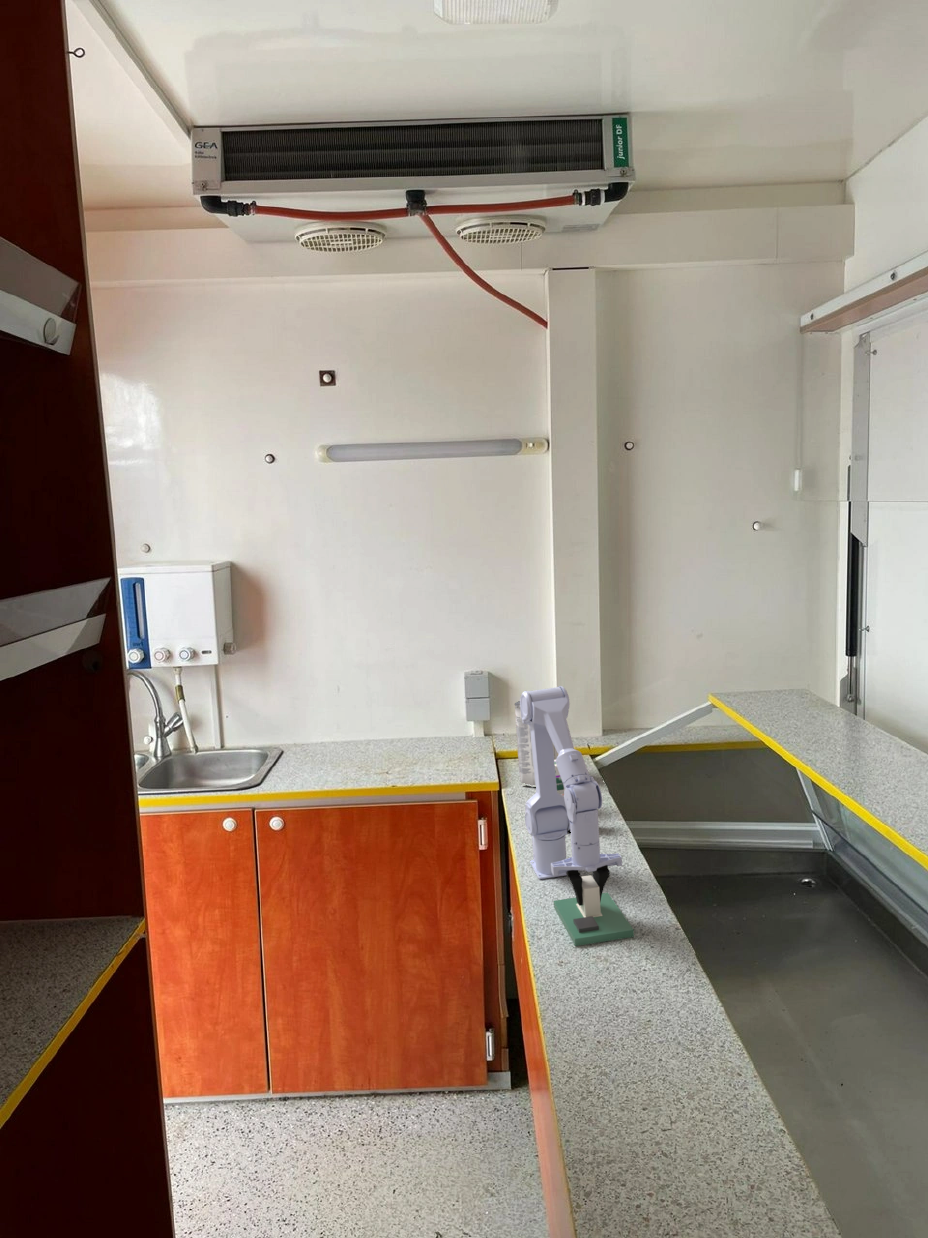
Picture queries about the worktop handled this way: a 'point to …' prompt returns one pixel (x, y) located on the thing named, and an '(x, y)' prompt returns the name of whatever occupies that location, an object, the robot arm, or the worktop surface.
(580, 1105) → the worktop surface
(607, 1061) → the worktop surface
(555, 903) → the circuit board
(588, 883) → the block
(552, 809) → the robot arm
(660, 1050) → the worktop surface
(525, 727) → the juice carton
